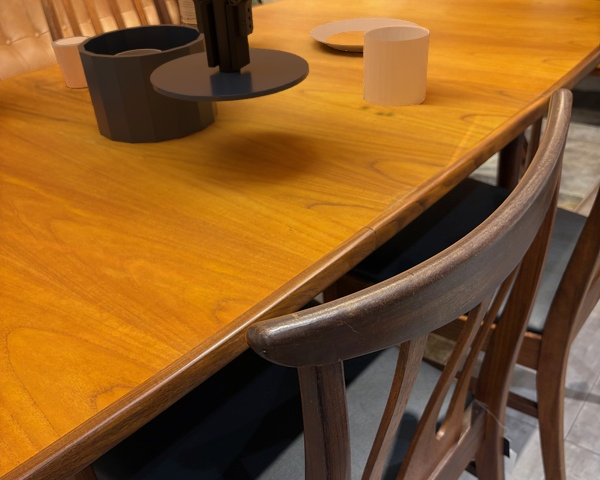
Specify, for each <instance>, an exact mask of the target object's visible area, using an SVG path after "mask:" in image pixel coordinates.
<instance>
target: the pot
mask: <svg viewBox="0 0 600 480" xmlns="http://www.w3.org/2000/svg"><path fill="white" fill-rule="evenodd" d="M89 37H90V38H88V39H85V40H84V41H83V42H82V43H80V44H79V45H78V46H77V47H78V51H79V55H80V59H81V63H82V67H83V71H84V74H85V78H86V82H87V86H88V87H87V89H88V94H89V97H90V102H91V105H92V110H93V113H94V117H95V120H96V125H97V128H98V131H99V135H100V136H101V137H103V138H105V139H107V140H110V141H111V142H118V143H126V144H133V145H135V144H156V143H162V142H168V141H173V140H179V139H183V138H185V137H189V136H192V135H194V134H197V133H199V132H200V133H201V132H202V131H204V130H206V129H207V128H208V127H210V126H212V125H213V124H214V123H216V119H217V117H218V115H219V113H218V106H217V102H201V101H188V100H181V99H176V98H171V97H168V96H165V95H162V94H160V93H158V92H157V91H155V90H154V89H153V88H152V86H151V82H150V76H151V74H152V72H153V71H154V70H155V69H157V68H158V67H159V66H161V65H163V64H165V63H167V62H169V61H172V60H175V59H177V58H181V57H184V56H188V55H192V54H197V53H202V52H206V46H205V38H204V34H203V33H199V31H198V28H197V27H193V26H189V25H182V24H174V23H171V24H170V23H163V24H162V23H160V24H145V25H138V26H136V25H135V26H129V27H122V28H118V29H113V30H109V31H105V32H100V33H99V34H95V35H93V36H89ZM139 49H155V50H161V51H160V52H153V53H147V54H139V55H119V56H114V55H116V54H119V53H122V52H126V51H131V50H139Z"/></svg>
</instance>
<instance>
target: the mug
mask: <svg viewBox="0 0 600 480" xmlns="http://www.w3.org/2000/svg"><path fill="white" fill-rule="evenodd" d="M429 47H430V29H428V28H427V27H424V26H420V25H419V26H414V25H386V26H379V27H374V28H371V29H368V30H366V31H365V32H364V51H363V52H362V54H363V57H362V59H363V62H362V63H363V67H362V68H363V69H362V70H363V71H362V72H363V75H362V76H363V77H362V81H363V82H362V85H363V87H362V88H363V89H362V94H363V95H362V98H363V100H364V101H365V102H367V103H369V104H372V105H375V106H379V107H390V108H392V107H406V106H407V107H408V106H412V105H419V106H420V105H422V103H423V102H424V100H425V99H426V96H427V95H426V94H427V93H426V92H427V78H428V77H427V76H428V62H429V49H430V48H429Z"/></svg>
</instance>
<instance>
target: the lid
mask: <svg viewBox="0 0 600 480" xmlns="http://www.w3.org/2000/svg"><path fill="white" fill-rule="evenodd" d="M227 4H229V2H228V0H211V7H212V16H213V24H214V32H215V40H216V48H217V57H218V66H216V67H215V68H211V67H208V61H207V53H206V52H202V53H197V54H192V55H188V56H184V57H181V58H177V59H175V60H172V61H169V62H167V63H165V64H163V65H161V66H159V67H158V68H157V69H155V70H154V71H153V72H152V74H151V76H150V82H151V86H152V88H153V89H154V90H155V91H157V92H158V93H160V94H162V95H165V96H168V97H171V98H176V99H181V100H188V101H201V102H216V103H217V102H218V103H220V102H221V103H222V102H235V101H242V100H243V101H245V100H252V99H256V98H261V97H267V96H270V95H275V94H278V93H281V92H284V91H287V90H290V89H292V88H294V87H295V86H297V85H299V84H301V83H302V82H304V81H305V80H306V79H307V78H308V76H309V74H310V64H309V62H308V61H307V60H306V59H305V58H304V57H302V56H300V55H298V54H296V53H293V52H290V51H284V50H280V49H279V50H278V49H274V48H273V49H272V48H271V49H270V48H261V47H260V48H259V47H258V48H256V47H249V55H250V64H248V65H246V66H245V67H243V68H241V69H239V70H233V68H232V59H231V50H230V41H229V32H228V23H227V14H226V5H227Z"/></svg>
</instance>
